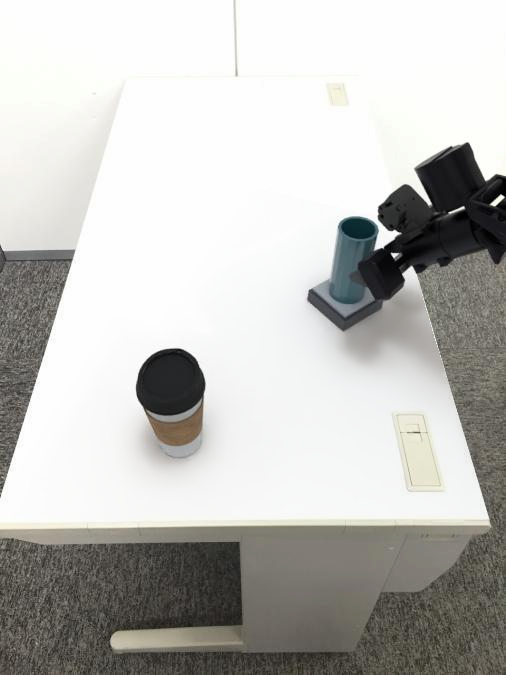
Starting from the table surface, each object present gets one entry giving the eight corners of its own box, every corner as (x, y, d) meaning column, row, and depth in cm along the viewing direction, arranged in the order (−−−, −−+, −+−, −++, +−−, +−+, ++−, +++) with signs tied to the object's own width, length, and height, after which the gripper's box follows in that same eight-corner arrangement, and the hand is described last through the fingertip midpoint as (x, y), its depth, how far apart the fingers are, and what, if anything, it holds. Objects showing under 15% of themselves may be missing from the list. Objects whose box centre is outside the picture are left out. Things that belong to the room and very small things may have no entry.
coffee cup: (219, 420, 76) (213, 354, 64) (199, 473, 70) (189, 410, 59) (164, 407, 77) (149, 339, 66) (140, 457, 72) (120, 393, 60)
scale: (381, 308, 91) (385, 295, 88) (342, 331, 87) (345, 318, 85) (345, 279, 95) (347, 266, 93) (307, 300, 92) (308, 287, 89)
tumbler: (371, 298, 88) (386, 234, 78) (339, 308, 86) (351, 245, 76) (352, 275, 91) (365, 212, 82) (322, 285, 90) (330, 221, 80)
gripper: (461, 152, 71) (378, 191, 85) (383, 212, 62) (303, 246, 76) (496, 224, 74) (410, 252, 87) (425, 293, 65) (341, 312, 78)
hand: (368, 263), depth 82 cm, fingers open, 9 cm apart
